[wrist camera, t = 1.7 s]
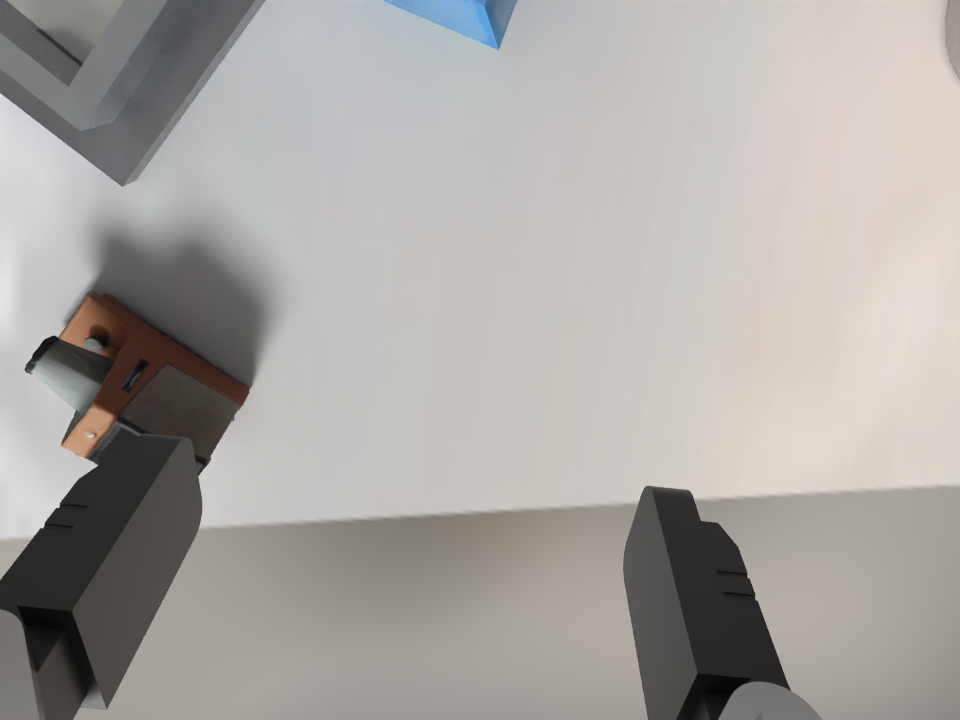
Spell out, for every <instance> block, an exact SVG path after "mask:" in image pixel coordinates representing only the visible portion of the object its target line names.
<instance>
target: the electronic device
mask: <svg viewBox="0 0 960 720" xmlns="http://www.w3.org/2000/svg"><path fill="white" fill-rule="evenodd" d="M25 372H27V373H29V374H32V375H34V376H35V377H36V378H38V379H39V380H40V381H42V382H43V383H44V384H45V385H47V386H48V387H49V388H50V389H52V390H53V391H54V392H55V393H56V394H58V395H59V396H60V397H61V398H62V399H63V400H65V401H66V402H67V403H68V404H69V405H70V406H72V407H73V408H74V409H75V410H76V412H75V414H74V418H73V419H72V421H71V423H70V425H69V427H68V429H67V432H66V434H65V436H64V438H63V440H62V443H61V446H62V447H63V448H65V449H68V450H70V451H72V452H73V453H75V455H76V456H79V457H84V458H86V459H88V460H90V461H93V462H94V463H95V464H97V465H100V464H101V463H103V462H104V461H106V460H114V461H121V460H122V459H123V457H124V456H125V455H126V453H127V452H128V451H129V449H130V448H131V446H132V445H133V444H134V442H135V441H136V440H137V438H138V437H139V436H140V435H142V434H156V435H166V436H176V437H186V438H189V439H190V440H191V442H192V444H193V448H194V454H195V460H196V466H197V472H198V476H199V475H200V473H201V472H202V471H203V469H204V468H205V467H206V466H207V465H208V464H209V462H210V460H211V455H212V453H213V451H214V450H215V448H216V446H217V444H218V443H219V441H220V439H221V438H222V436H223V434H224V433H225V431H226V430H227V428H228V426H229V424H230V423H231V421H234V416H235V414H236V412H237V411H238V410H240V408H241V407H242V405H243V404H244V402H245V400H246V398H247V396H248V394H249V389H248V388H247V387H246V386H245V385H243V384H241V383H238V382H237V381H235V380H234V379H232V378H230V377H229V376H227V375H225V374H224V373H222V372H221V371H219V370H217V369H216V368H215V367H213V366H212V365H210V364H209V363H208V362H207V361H205V360H203V359H202V358H201V357H200V356H198V355H196V354H194V353H192V352H191V351H190V350H189V349H188V348H186V347H185V346H183V345H181V344H180V343H178V342H177V341H175V340H173V339H172V338H170V337H169V336H167V335H166V334H165V333H163V332H161V331H159V330H157V329H155V328H153V327H151V326H150V325H148V324H146V323H145V322H143V321H142V320H141V319H140V318H139V317H138V316H136V315H135V314H133V313H132V312H131V311H130V310H128V309H127V308H126V307H124V306H122V305H121V304H119V303H118V301H117V300H116V299H115V298H114V297H113V296H111V295H109V294H105V295H104V297H103V296H101V295H99V294H98V293H96V292H95V291H91V292H89V293H87V295H86V299H85V300H84V301H83V303H82V304H81V306H80V307H79V309H78V310H77V311H76V313H75V314H74V316H73V317H72V318H71V320H70V322H69V323H68V324H67V326H66V327H65V329H64V330H63V331H62V333H61V334H60V336H59V337H56V336H51V337H49V338H47V339H45V340H44V341H43V342H42V343H41V345H40V346H39V348H38V349H37V350H36V351H35V352H34V353H33V356H32V359H31V360H30V361H29V362H28V363H27V364H26V368H25Z"/></svg>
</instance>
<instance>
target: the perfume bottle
mask: <svg viewBox="0 0 960 720" xmlns="http://www.w3.org/2000/svg"><path fill="white" fill-rule="evenodd" d="M382 1H384V2H387V3H389V4H391V5H394V6H396V7H398V8H401V9H403V10H406V11H408V12H410V13H413V14H415V15H417V16H420V17H422V18H424V19H427V20H429V21H431V22H434V23H436V24H438V25H441V26H443V27H445V28H448V29H450V30H452V31H455V32H457V33H460V34H462V35H464V36H467V37H469V38H471V39H474V40H476V41H478V42H481V43H483V44H485V45H488V46H490V47H492V48H495V49H497V50H499V48H500V45H501V42H502V39H503V37H504V34H505V31H506V28H507V26H508V23H509V20H510V17H511V15H512V12H513V9H514V6H515V4H516V1H517V0H382Z"/></svg>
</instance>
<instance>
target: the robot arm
mask: <svg viewBox="0 0 960 720" xmlns="http://www.w3.org/2000/svg"><path fill="white" fill-rule="evenodd" d="M946 45H947V50H948V54H949V59H950V62H951V64H952V66H953V68H954V70H955V72H956V74H957V76H958V78H959V79H960V0H949V5H948V10H947V15H946ZM201 516H202V496H201V490H200V484H199V478H198V472H197V466H196V460H195V454H194V448H193V444H192V442H191V440H190V439H189V438H186V437H176V436H166V435H156V434H142V435H140V436H139V437H138V438H137V440H136V441H135V442H134V444H133V445H132V446H131V448H130V449H129V451H128V452H127V453H126V455H125V456H124V457H123V459H122V460H121V461H114V460H106V461H104V462H103V463H101V464H100V465H99V466H97V467H96V468H94V469H93V470H91V471H90V472H88V473H87V474H86V475H84V476H83V477H81V478H80V479H78V481H77V482H76V483H75V484H74V486H73V487H72V488H71V490H70V491H69V492H68V494H67V495H66V496H65V497H64V499H63V500H62V501H61V503H60V507H59V508H56V509H55V510H54V512H53V513H52V514H51V515H50V517H49V518H48V519H47V521H46V522H45V526H44V528H43V529H42V528H40V530H39V531H38V532H37V534H36V535H35V536H34V537H33V539H32V540H31V541H30V543H29V544H28V545H27V547H26V548H25V549H24V550H23V552H22V553H21V554H20V556H19V557H18V558H17V560H16V561H15V562H14V563H13V565H12V566H11V567H10V569H9V570H8V571H7V573H6V574H5V575H4V576H3V578H2V579H1V580H0V720H73V719H74V717H75V715H76V713H77V711H78V709H79V708H80V707H82V708H93V709H103V710H107V708H108V706H109V704H110V702H111V700H112V698H113V697H114V694H115V693H116V691H117V689H118V687H119V685H120V683H121V681H122V679H123V677H124V675H125V673H126V671H127V669H128V667H129V665H130V663H131V661H132V659H133V657H134V656H135V654H136V651H137V649H138V648H139V646H140V644H141V642H142V640H143V637H144V636H145V634H146V632H147V630H148V628H149V626H150V624H151V622H152V620H153V618H154V616H155V614H156V613H157V611H158V609H159V607H160V605H161V603H162V601H163V599H164V597H165V595H166V593H167V591H168V589H169V587H170V585H171V583H172V581H173V579H174V577H175V575H176V573H177V572H178V570H179V568H180V566H181V564H182V562H183V560H184V558H185V556H186V554H187V552H188V550H189V548H190V546H191V544H192V542H193V540H194V538H195V536H196V534H197V531H198V528H199V525H200V521H201ZM623 571H624V582H625V587H626V593H627V599H628V605H629V611H630V616H631V622H632V628H633V634H634V640H635V645H636V651H637V657H638V663H639V669H640V675H641V680H642V686H643V692H644V698H645V704H646V709H647V715H648V720H821V718H820V716H819V715H818V714H817V713H816V712H815V710H814V709H813V708H812V707H811V706H810V705H809V704H808V703H807V702H806V701H804V700H803V699H802V698H800V697H799V696H798V695H796V694H795V693H793V692H792V691H791V690H790V687H789V685H788V683H787V680H786V678H785V675H784V672H783V669H782V667H781V664H780V661H779V658H778V656H777V653H776V650H775V647H774V645H773V642H772V639H771V637H770V634H769V631H768V628H767V626H766V623H765V620H764V617H763V615H762V612H761V609H760V606H759V604H758V601H756V600H755V592H754V590H753V587H752V584H751V581H750V579H748V578H747V570H746V568H745V565H744V562H743V559H742V557H741V554H740V551H739V549H738V547H737V545H736V544H735V543H734V542H733V540H732V539H731V538H730V537H729V536H728V535H727V533H726V532H725V531H724V530H723V528H722V527H721V526H720V525H719V524H718V523H713V522H704V521H701V520H700V517H699V514H698V511H697V508H696V504H695V501H694V498H693V495H692V494H691V492H690V491H689V490H683V489H673V488H663V487H653V486H646V487H645V488H644V490H643V492H642V494H641V498H640V501H639V504H638V507H637V510H636V513H635V517H634V520H633V523H632V526H631V530H630V533H629V536H628V539H627V542H626V546H625V552H624V564H623Z"/></svg>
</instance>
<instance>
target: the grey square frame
mask: <svg viewBox="0 0 960 720" xmlns="http://www.w3.org/2000/svg"><path fill="white" fill-rule="evenodd" d="M264 1H265V0H0V93H1V94H2V95H4V96H5V97H6V98H7V99H9V100H10V101H11V102H13V103H14V104H15V105H17V106H18V107H19V108H20V109H22V110H23V111H24V112H26V113H27V114H28V115H30V116H31V117H32V118H33V119H35V120H36V121H37V122H39V123H40V124H41V125H43V126H44V127H45V128H46V129H48V130H49V131H50V132H52V133H53V134H54V135H56V136H57V137H58V138H59V139H61V140H62V141H63V142H65V143H66V144H67V145H69V146H70V147H71V148H72V149H74V150H75V151H76V152H78V153H79V154H80V155H82V156H83V157H84V158H85V159H87V160H88V161H89V162H91V163H92V164H93V165H95V166H96V167H97V168H98V169H100V170H101V171H102V172H104V173H105V174H106V175H108V176H109V177H110V178H111V179H113V180H114V181H115V182H117V183H118V184H119V185H121V186H122V187H123V186H125V185H127V184H129V183H131V182H133V181H135V180H136V179H137V178H138V177H139V175H140V174H141V172H142V171H143V170H144V168H145V167H146V166H147V164H148V163H149V161H150V160H151V159H152V157H153V156H154V154H155V153H156V152H157V150H158V149H159V147H160V146H161V145H162V143H163V142H164V140H165V139H166V138H167V136H168V135H169V134H170V132H171V131H172V129H173V128H174V127H175V125H176V124H177V122H178V121H179V120H180V118H181V117H182V115H183V114H184V113H185V111H186V110H187V109H188V107H189V106H190V104H191V103H192V102H193V100H194V99H195V97H196V96H197V95H198V93H199V92H200V90H201V89H202V88H203V86H204V85H205V83H206V82H207V81H208V79H209V78H210V77H211V75H212V74H213V72H214V71H215V70H216V68H217V67H218V65H219V64H220V63H221V61H222V60H223V58H224V57H225V56H226V54H227V53H228V52H229V50H230V49H231V47H232V46H233V45H234V43H235V42H236V40H237V39H238V38H239V36H240V35H241V33H242V32H243V31H244V29H245V28H246V26H247V25H248V24H249V22H250V21H251V20H252V18H253V17H254V15H255V14H256V13H257V11H258V10H259V8H260V7H261V6H262V4H263V3H264Z"/></svg>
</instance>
